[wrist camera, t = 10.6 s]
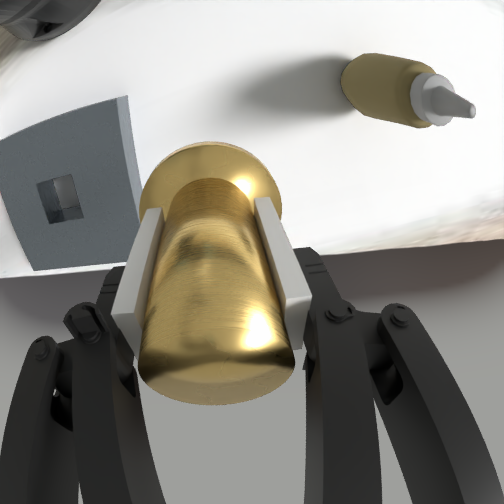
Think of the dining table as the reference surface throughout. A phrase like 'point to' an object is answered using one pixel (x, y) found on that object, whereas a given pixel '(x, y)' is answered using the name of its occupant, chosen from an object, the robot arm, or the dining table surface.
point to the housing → (86, 184)
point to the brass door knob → (212, 281)
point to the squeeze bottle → (402, 91)
